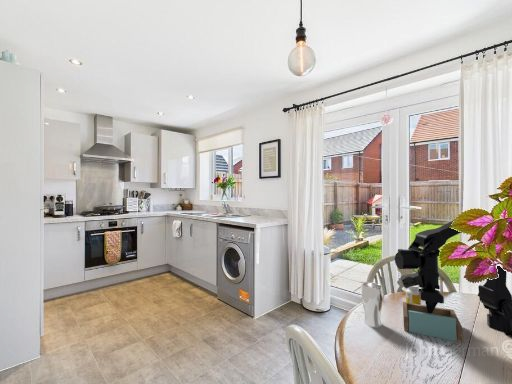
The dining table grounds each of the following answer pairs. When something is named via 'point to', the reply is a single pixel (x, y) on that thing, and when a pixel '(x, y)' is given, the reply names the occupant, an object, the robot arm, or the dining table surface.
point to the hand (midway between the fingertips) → (429, 313)
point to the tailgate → (432, 325)
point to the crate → (436, 312)
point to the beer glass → (372, 303)
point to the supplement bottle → (413, 295)
